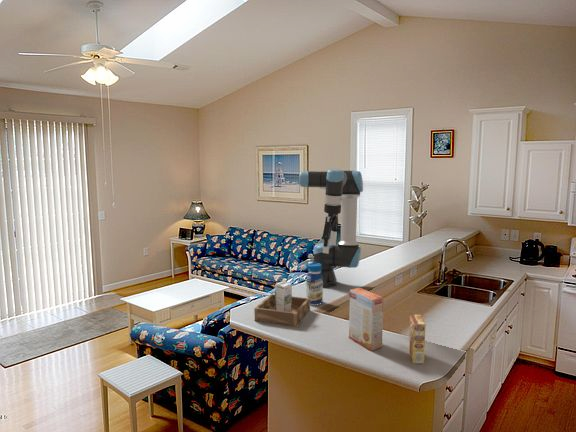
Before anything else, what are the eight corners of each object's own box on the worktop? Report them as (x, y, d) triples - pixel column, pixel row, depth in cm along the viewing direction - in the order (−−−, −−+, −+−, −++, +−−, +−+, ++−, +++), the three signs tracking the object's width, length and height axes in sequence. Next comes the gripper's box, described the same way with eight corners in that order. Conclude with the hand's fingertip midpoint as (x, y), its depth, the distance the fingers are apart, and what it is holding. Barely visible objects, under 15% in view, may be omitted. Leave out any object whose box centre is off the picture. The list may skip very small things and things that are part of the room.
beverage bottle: (320, 299, 218) (321, 261, 215) (324, 305, 210) (325, 266, 207) (304, 300, 216) (304, 262, 213) (308, 306, 208) (308, 266, 205)
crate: (271, 305, 210) (271, 293, 209) (310, 310, 203) (310, 298, 202) (254, 320, 192) (254, 308, 191) (296, 327, 185) (296, 314, 184)
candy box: (424, 364, 153) (426, 324, 150) (412, 363, 153) (414, 323, 151) (419, 352, 161) (421, 314, 159) (408, 352, 162) (409, 314, 159)
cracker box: (382, 348, 165) (384, 296, 162) (370, 351, 162) (372, 299, 159) (359, 334, 177) (360, 286, 174) (348, 337, 174) (349, 289, 171)
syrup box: (282, 310, 202) (282, 280, 199) (292, 312, 198) (292, 283, 196) (274, 313, 197) (274, 283, 195) (284, 316, 194) (284, 286, 191)
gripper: (334, 210, 178) (330, 258, 183) (347, 200, 201) (343, 242, 206) (317, 208, 180) (313, 255, 185) (331, 198, 203) (328, 240, 208)
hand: (329, 248), depth 196 cm, fingers open, 13 cm apart
